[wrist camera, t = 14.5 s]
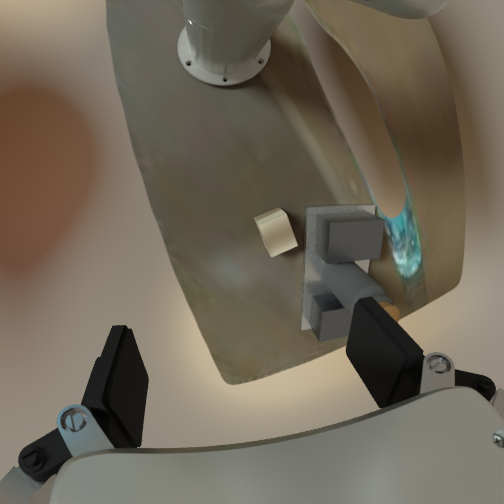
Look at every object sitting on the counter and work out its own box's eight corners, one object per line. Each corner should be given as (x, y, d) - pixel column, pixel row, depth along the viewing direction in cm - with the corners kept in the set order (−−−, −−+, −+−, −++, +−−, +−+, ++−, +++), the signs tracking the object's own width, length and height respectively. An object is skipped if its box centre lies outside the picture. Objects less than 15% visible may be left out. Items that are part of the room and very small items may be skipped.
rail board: (304, 206, 41) (320, 216, 36) (372, 203, 43) (393, 213, 37) (299, 327, 50) (310, 347, 44) (357, 316, 51) (371, 334, 46)
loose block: (253, 217, 41) (258, 225, 37) (278, 207, 41) (286, 213, 37) (265, 247, 43) (271, 257, 39) (289, 236, 43) (297, 245, 39)
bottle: (348, 248, 44) (401, 294, 30) (356, 276, 46) (404, 326, 33) (317, 264, 44) (362, 317, 30) (327, 291, 46) (368, 347, 33)
